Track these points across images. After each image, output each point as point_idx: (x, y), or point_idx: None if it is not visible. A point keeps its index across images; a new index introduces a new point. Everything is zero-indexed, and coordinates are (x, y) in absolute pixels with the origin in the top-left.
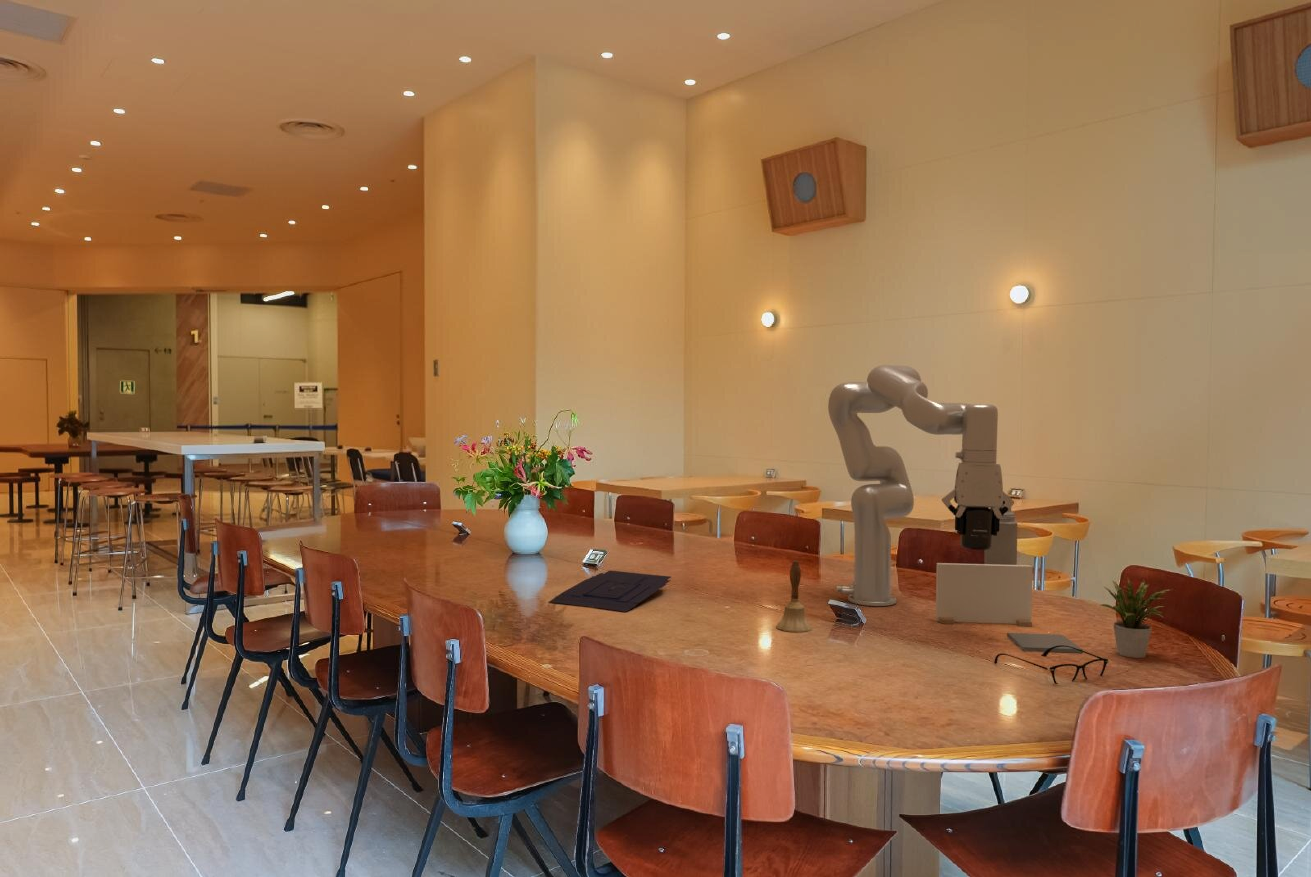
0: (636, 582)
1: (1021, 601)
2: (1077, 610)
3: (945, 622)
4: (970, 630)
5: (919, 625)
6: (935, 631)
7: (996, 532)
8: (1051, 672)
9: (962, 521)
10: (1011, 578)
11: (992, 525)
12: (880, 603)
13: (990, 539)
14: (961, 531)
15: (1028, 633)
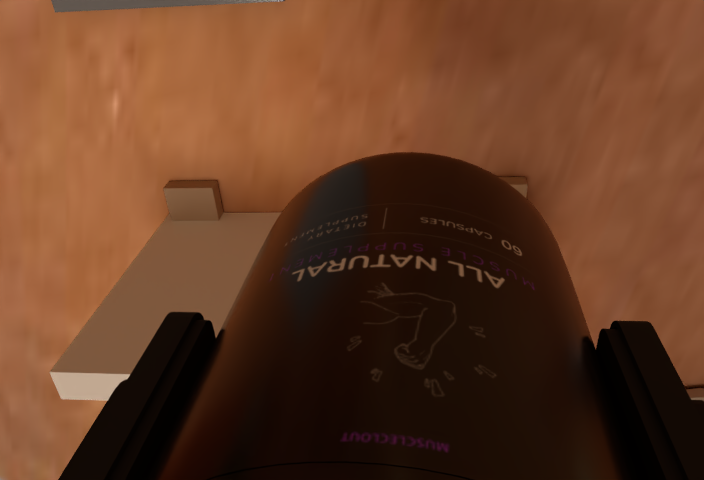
0: None
1: (174, 260)
2: (20, 396)
3: (507, 178)
4: (427, 80)
5: (635, 132)
6: (599, 33)
7: (164, 330)
8: None
9: (692, 469)
10: None
11: (183, 405)
12: (691, 395)
13: (263, 250)
14: (642, 345)
15: (192, 4)
